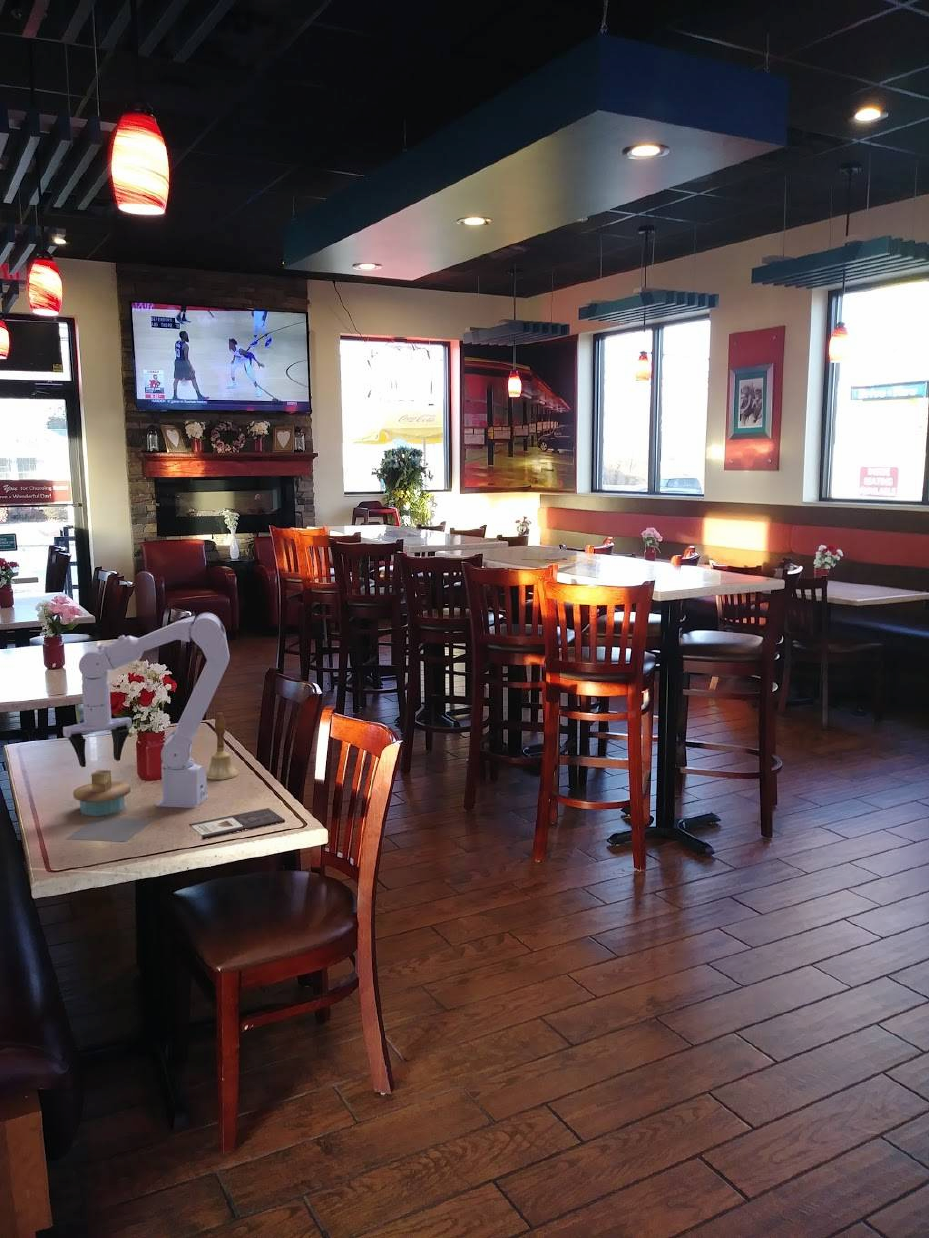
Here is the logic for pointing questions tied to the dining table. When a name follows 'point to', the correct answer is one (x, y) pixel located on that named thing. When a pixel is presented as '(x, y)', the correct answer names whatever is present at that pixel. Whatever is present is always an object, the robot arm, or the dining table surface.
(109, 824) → the mat
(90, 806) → the bowl
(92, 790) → the lid
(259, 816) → the chocolate bar
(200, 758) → the dining table surface
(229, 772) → the hand bell
